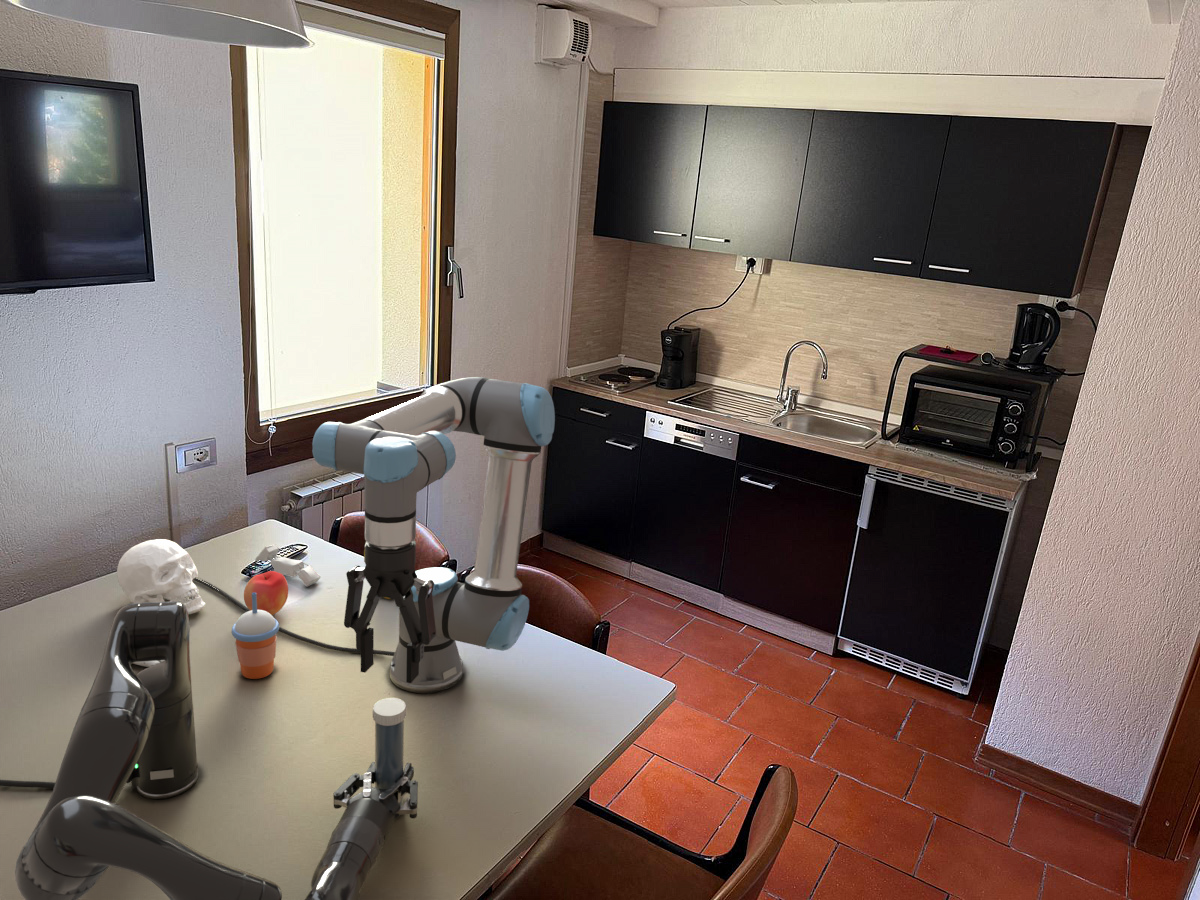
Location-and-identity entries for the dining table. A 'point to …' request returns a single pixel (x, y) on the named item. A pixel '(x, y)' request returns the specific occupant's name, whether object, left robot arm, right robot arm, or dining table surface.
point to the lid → (389, 711)
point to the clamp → (288, 565)
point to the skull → (159, 574)
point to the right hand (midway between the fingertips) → (389, 672)
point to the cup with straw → (256, 641)
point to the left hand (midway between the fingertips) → (394, 765)
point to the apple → (267, 592)
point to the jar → (389, 755)
